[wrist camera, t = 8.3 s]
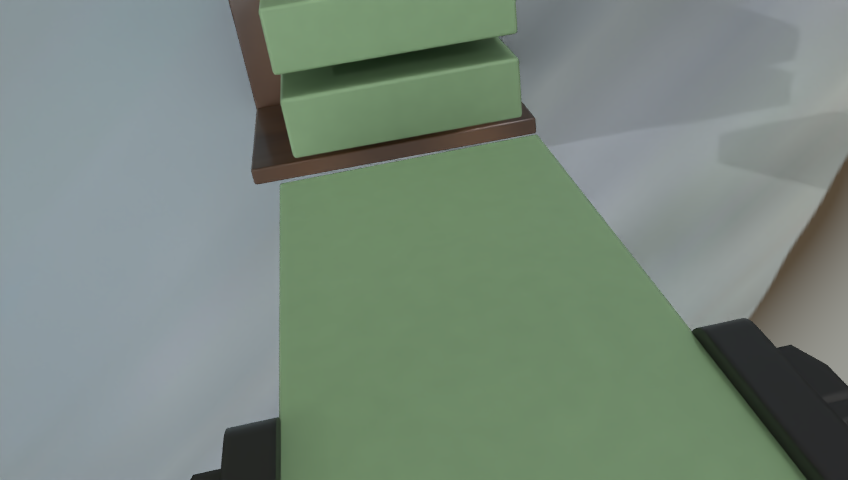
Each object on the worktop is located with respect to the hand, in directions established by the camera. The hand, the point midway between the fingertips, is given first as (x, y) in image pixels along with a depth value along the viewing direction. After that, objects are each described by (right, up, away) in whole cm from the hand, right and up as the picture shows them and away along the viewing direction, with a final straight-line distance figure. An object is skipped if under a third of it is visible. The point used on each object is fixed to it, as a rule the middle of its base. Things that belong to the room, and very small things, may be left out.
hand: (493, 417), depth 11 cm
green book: (-1, +4, +6) cm, 8 cm away
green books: (-4, +13, +17) cm, 22 cm away
